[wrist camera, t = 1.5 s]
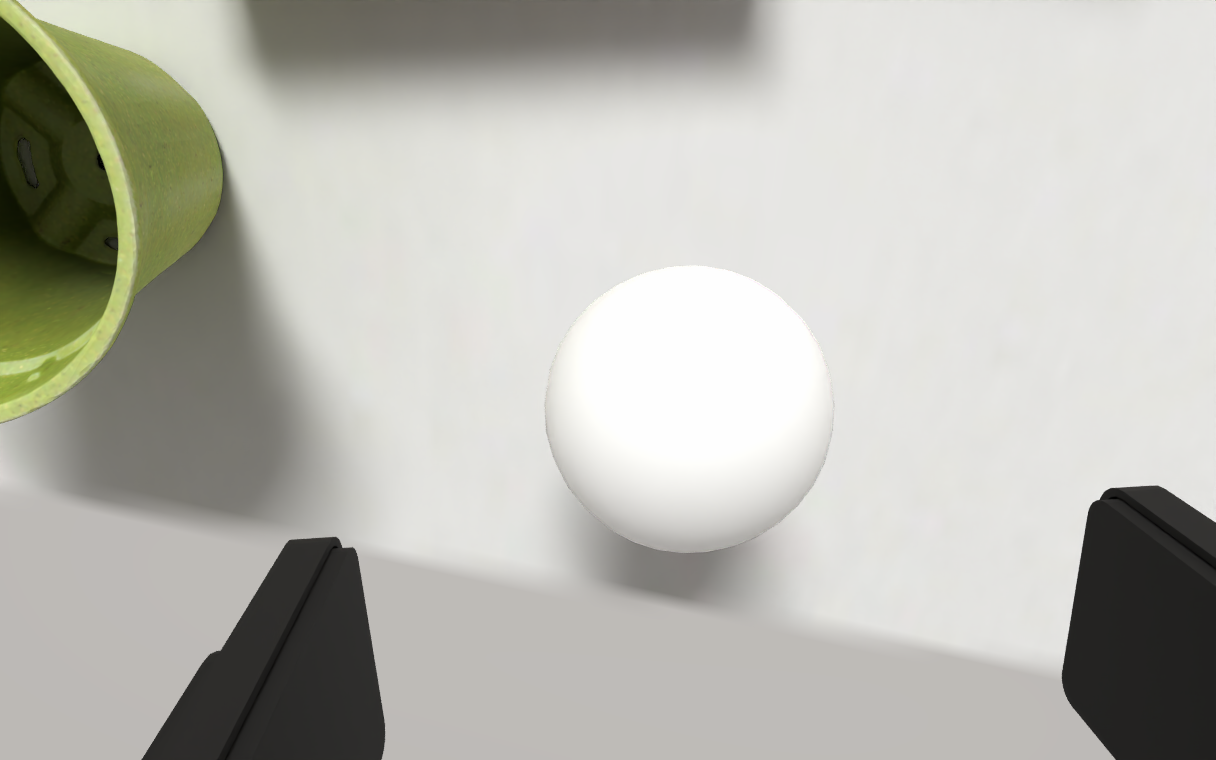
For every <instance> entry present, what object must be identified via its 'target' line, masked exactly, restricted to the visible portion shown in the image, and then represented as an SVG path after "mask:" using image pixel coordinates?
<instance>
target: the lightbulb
mask: <svg viewBox="0 0 1216 760" xmlns="http://www.w3.org/2000/svg"><path fill="white" fill-rule="evenodd" d="M833 417H834V399H833V392H832V385H831V378H830V374H829V370H828V367H827V364H826V361H825V359H824V356H823V353H822V351H821V348H820V345H819V343H818V342H817V340H816V338H815V337H814V335H813V334H812V332H811V331H810V329H809V328H808V326H807V325H806V323H805V322H804V320H803V319H802V318H801V317H800V316H799V315H798V314H797V313H796V312H795V311H794V310H793V309H792V308H791V307H790V306H789V305H788V304H787V303H786V302H785V301H784V300H783V299H782V298H781V297H780V296H779V295H777V294H776V293H774V292H773V291H771V290H769V289H768V288H766V287H765V286H763V285H762V284H760V283H759V282H757V281H755V280H753V279H750V278H748V277H745V276H743V275H740V274H737V273H735V272H732V271H729V270H724V269H718V268H712V267H706V266H673V267H668V268H663V269H659V270H655V271H650V272H646V273H643V274H640V275H638V276H636V277H633V278H631V279H629V280H627V281H624V282H622V283H620V284H618V285H616V286H615V287H613V288H612V289H610V290H609V291H607V292H606V293H605V294H603V295H602V296H600V297H599V298H597V299H596V300H595V301H593V302H592V303H591V304H590V306H589V307H588V308H587V309H586V310H585V311H584V312H583V313H582V314H581V315H580V316H579V317H578V318H577V319H576V320H575V321H574V323H573V324H572V326H571V327H570V329H569V330H568V332H567V334H566V335H565V337H564V338H563V340H562V341H561V343H560V345H559V347H558V350H557V352H556V355H555V358H554V360H553V363H552V366H551V368H550V372H549V379H548V385H547V391H546V398H545V419H546V432H547V436H548V440H549V443H550V447H551V451H552V455H553V457H554V460H555V462H556V464H557V466H558V468H559V470H560V472H561V474H562V476H563V478H564V480H565V482H566V484H567V486H568V488H569V489H570V490H571V492H572V493H573V494H574V495H575V497H576V498H577V499H578V500H579V502H580V503H581V504H582V505H583V507H584V508H585V509H586V510H588V511H589V512H590V513H591V514H592V515H593V516H594V517H596V518H597V519H598V520H599V521H600V522H602V523H603V524H604V525H605V526H606V527H608V528H609V529H610V530H612V531H614V532H615V533H617V534H619V535H621V536H623V537H624V538H626V539H628V540H630V541H632V542H634V543H637V544H641V545H644V546H647V547H650V548H653V549H656V550H662V551H670V552H677V553H697V552H710V551H715V550H719V549H724V548H729V547H733V546H735V545H738V544H740V543H743V542H745V541H748V540H750V539H753V538H755V537H757V536H759V535H760V534H762V533H764V532H765V531H767V530H768V529H770V528H772V527H773V526H775V525H777V524H778V523H779V522H780V521H781V520H783V519H784V518H785V517H786V516H787V515H788V514H789V513H790V512H791V511H793V510H794V509H795V508H796V507H797V506H798V505H799V503H800V502H801V501H802V499H803V498H804V497H805V496H806V494H807V493H808V492H809V490H810V489H811V488H812V486H813V485H814V483H815V481H816V479H817V477H818V475H819V473H820V471H821V469H822V467H823V465H824V462H825V458H826V455H827V451H828V447H829V444H830V440H831V436H832V431H833Z"/></svg>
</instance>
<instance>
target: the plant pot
mask: <svg viewBox="0 0 1216 760" xmlns="http://www.w3.org/2000/svg"><path fill="white" fill-rule="evenodd" d="M21 138H25V139H26V140H28V141H29V142H30V147H31V148H30V151H31V154H32V163H33V166H34V171H35V173H36V178H37V180H38V182H39V186H38V187H37V188H36V189H35V187H33V186H30V185H29V184H28V183H27V181H26V178H25V175H24V172H23V168H22V166H21V164H20V162H19V159H18V149H17V144H18V141H19V140H20V139H21ZM99 154H100V156H101V158H102V161H103V163H104V166H105V169H106V171H105V170H103V169H102V168H100V167H99V165H98V160H97V156H98V155H99ZM222 186H223V170H222V161H221V156H220V151H219V147H218V144H217V140H216V137H215V135H214V132H213V130H212V127H211V125H210V123H209V121H208V119H207V117H206V115H205V114H204V112H203V110H202V109H201V107H200V106H199V104H198V103H197V102H196V100H195V99H194V98H193V97H192V96H191V95H190V94H188V93H187V92H186V91H185V90H184V89H183V88H182V87H181V86H180V85H179V84H178V83H177V82H176V81H175V80H174V79H173V78H172V77H171V76H169V75H168V74H167V73H166V72H164V71H163V70H162V69H161V68H159V67H158V66H157V65H155V64H154V63H152V62H151V61H149V60H147V59H146V58H144V57H142V56H140V55H138V54H135V53H133V52H131V51H128V50H125V49H122V48H119V47H116V46H113V45H110V44H107V43H104V42H102V41H99V40H96V39H93V38H90V37H87V36H84V35H81V34H78V33H75V32H72V31H69V30H66V29H63V28H61V27H58V26H55V25H52V24H49V23H47V22H44V21H41V20H39V19H36V18H35V17H34V16H33V15H31V14H30V13H29V12H28V11H27V10H26V9H25V8H24V7H23V6H22V5H21V4H20V3H19V2H18V1H16V0H0V424H1V423H4V422H8V421H10V420H13V419H16V418H19V417H21V416H23V415H26V414H28V413H31V412H33V411H35V410H37V409H39V408H41V407H43V406H45V405H47V404H48V403H50V402H52V401H53V400H55V399H57V398H58V397H60V396H62V395H63V394H64V393H66V392H67V391H68V390H70V389H71V388H73V387H74V386H75V385H77V384H78V383H79V382H80V381H81V380H82V379H83V378H85V377H86V376H87V375H88V374H89V373H90V372H91V371H92V370H93V369H94V368H95V366H96V365H97V364H98V363H99V362H100V361H101V360H102V359H103V357H104V356H105V355H106V353H107V352H108V351H109V349H110V348H111V347H112V345H113V343H114V342H115V340H116V339H117V337H118V335H119V333H120V331H121V329H122V327H123V325H124V323H125V321H126V319H127V316H128V314H129V312H130V309H131V307H132V304H133V301H134V297H135V295H136V294H137V293H138V292H139V291H140V290H142V289H143V288H144V287H145V286H146V285H147V284H149V283H150V282H151V281H152V280H153V279H154V278H156V277H157V276H158V275H159V274H160V273H162V272H163V271H164V270H166V269H167V268H168V267H170V266H171V265H172V264H173V263H174V262H176V261H177V260H178V259H179V258H181V257H182V256H183V255H184V254H186V253H187V252H188V251H190V250H191V249H192V248H193V247H194V246H195V245H196V244H197V242H198V241H199V240H200V239H201V237H202V236H203V235H204V233H205V232H206V230H207V228H208V227H209V225H210V224H211V222H212V220H213V219H214V217H215V215H216V213H217V210H218V207H219V204H220V199H221V194H222ZM107 237H111V238H118V250H115V249H113V248H110V247H109V246H107V245H106V244H105V239H106V238H107Z"/></svg>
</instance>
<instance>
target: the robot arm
mask: <svg viewBox="0 0 1216 760" xmlns="http://www.w3.org/2000/svg"><path fill="white" fill-rule="evenodd" d="M1062 683H1063V688H1064V692H1065V695H1066V697H1067V699H1068V701H1069V702H1070V704H1071V706H1072V707H1073V708H1074V709H1075V711H1076V712H1077V713H1078V714H1079V715H1080V716H1081V718H1082V719H1083V720H1084V722H1085V723H1086V724H1087V725H1088V726H1089V727H1090V729H1091V730H1092V731H1093V732H1094V734H1095V735H1096V736H1097V737H1098V739H1099V740H1100V741H1101V742H1102V743H1103V744H1104V746H1105V747H1106V748H1107V750H1108V751H1109V752H1110V753H1111V754H1112V756H1113V757H1114V758H1115V759H1116V760H1216V523H1215V522H1214V521H1212V520H1211V519H1209V518H1208V517H1206V516H1205V515H1203V514H1202V513H1200V512H1199V511H1197V510H1196V509H1194V508H1193V507H1191V506H1190V505H1188V504H1187V503H1185V502H1184V501H1182V500H1181V499H1179V498H1178V497H1176V496H1175V495H1173V494H1172V493H1170V492H1169V491H1167V490H1166V489H1164V488H1162V487H1159V486H1139V487H1123V488H1110V489H1108V490H1106V491H1105V492H1104V493H1103V495H1102V496H1101V498H1100V500H1097V501H1095V502H1093V503H1092V505H1091V506H1090V508H1089V511H1088V516H1087V522H1086V528H1085V535H1084V541H1083V547H1082V553H1081V559H1080V565H1079V572H1078V578H1077V584H1076V590H1075V596H1074V602H1073V609H1072V615H1071V621H1070V627H1069V633H1068V639H1067V646H1066V652H1065V658H1064V664H1063V670H1062ZM384 743H385V723H384V716H383V710H382V703H381V697H380V691H379V685H378V678H377V672H376V666H375V660H374V654H373V648H372V641H371V635H370V630H369V623H368V617H367V610H366V604H365V599H364V592H363V586H362V580H361V573H360V567H359V561H358V556H357V553H356V550H355V549H354V548H353V547H352V548H342V545H341V543H340V540H339V539H338V538H337V537H327V538H311V539H295V540H289V541H288V542H287V543H286V545H285V546H284V548H283V550H282V551H281V553H280V555H279V556H278V558H277V559H276V561H275V563H274V565H273V566H272V568H271V569H270V571H269V573H268V574H267V576H266V577H265V579H264V581H263V583H262V584H261V586H260V587H259V589H258V591H257V592H256V594H255V596H254V597H253V599H252V600H251V602H250V604H249V606H248V607H247V609H246V611H245V612H244V614H243V615H242V617H241V618H240V620H239V622H238V623H237V625H236V627H235V628H234V630H233V632H232V633H231V635H230V636H229V638H228V640H227V641H226V643H225V645H224V646H223V648H222V650H221V651H216V652H214V653H212V654H210V655H209V656H208V657H207V658H206V659H205V661H204V662H203V663H202V665H201V666H200V668H199V669H198V671H197V673H196V674H195V676H194V677H193V679H192V681H191V682H190V684H189V685H188V687H187V689H186V690H185V692H184V693H183V695H182V696H181V698H180V700H179V701H178V703H177V705H176V706H175V708H174V709H173V711H172V712H171V714H170V716H169V717H168V719H167V720H166V722H165V723H164V725H163V727H162V728H161V730H160V731H159V733H158V734H157V736H156V738H155V739H154V741H153V742H152V744H151V746H150V747H149V749H148V750H147V752H146V754H145V755H144V757H143V758H142V760H381V759H382V755H383V751H384Z"/></svg>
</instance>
